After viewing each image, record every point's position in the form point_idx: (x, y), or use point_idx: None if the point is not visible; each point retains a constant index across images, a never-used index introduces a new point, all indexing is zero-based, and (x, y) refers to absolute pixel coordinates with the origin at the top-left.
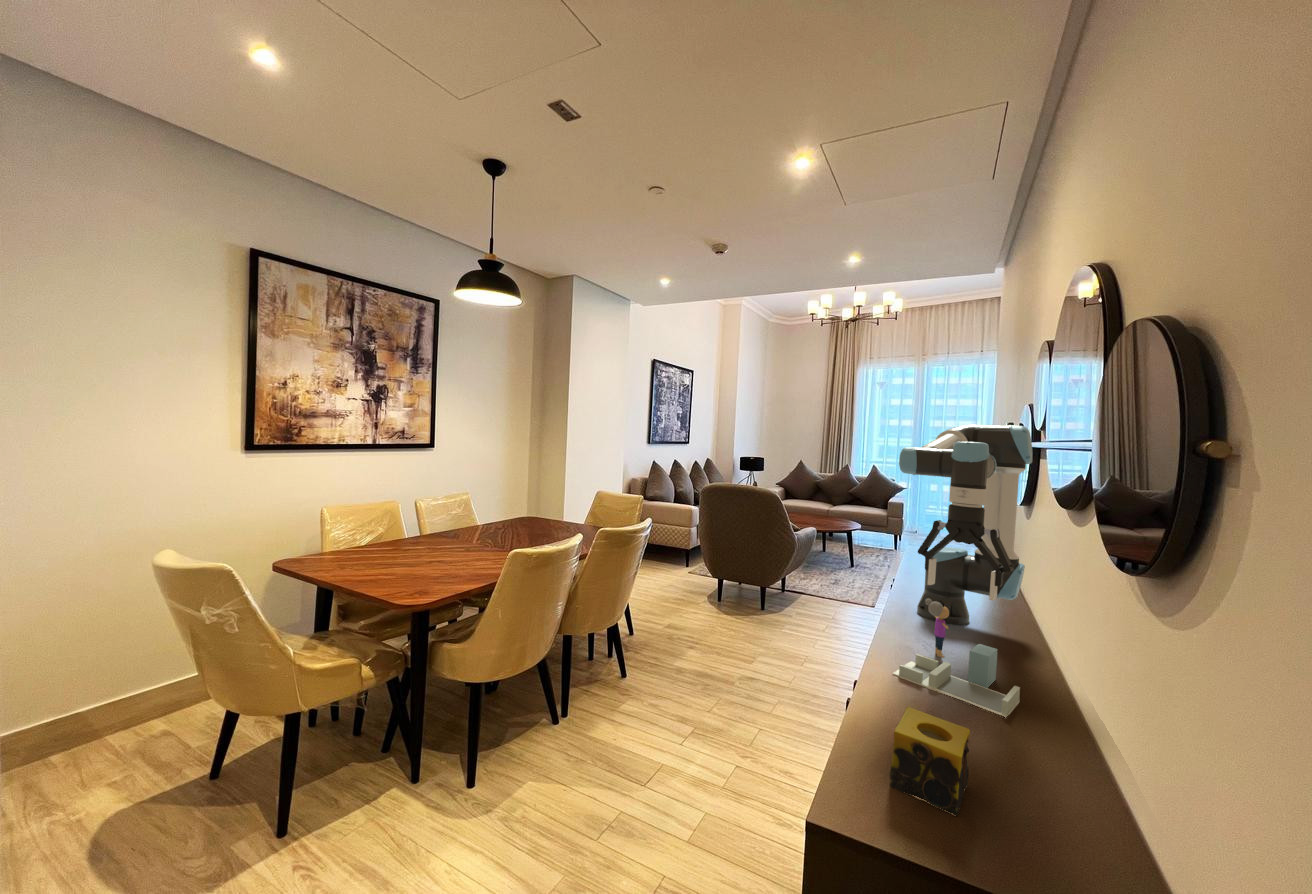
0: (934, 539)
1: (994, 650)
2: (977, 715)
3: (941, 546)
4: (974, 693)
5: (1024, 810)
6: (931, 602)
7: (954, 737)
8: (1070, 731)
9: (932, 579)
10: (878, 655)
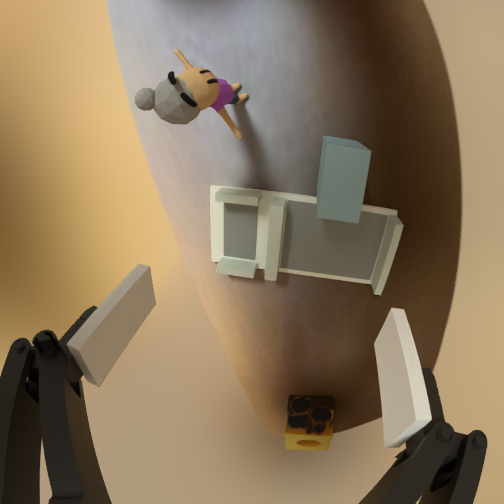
0: (10, 431)
1: (366, 167)
2: (341, 296)
3: (96, 467)
4: (333, 244)
5: (369, 395)
6: (155, 107)
7: (322, 443)
8: (445, 255)
9: (143, 306)
10: (161, 196)
